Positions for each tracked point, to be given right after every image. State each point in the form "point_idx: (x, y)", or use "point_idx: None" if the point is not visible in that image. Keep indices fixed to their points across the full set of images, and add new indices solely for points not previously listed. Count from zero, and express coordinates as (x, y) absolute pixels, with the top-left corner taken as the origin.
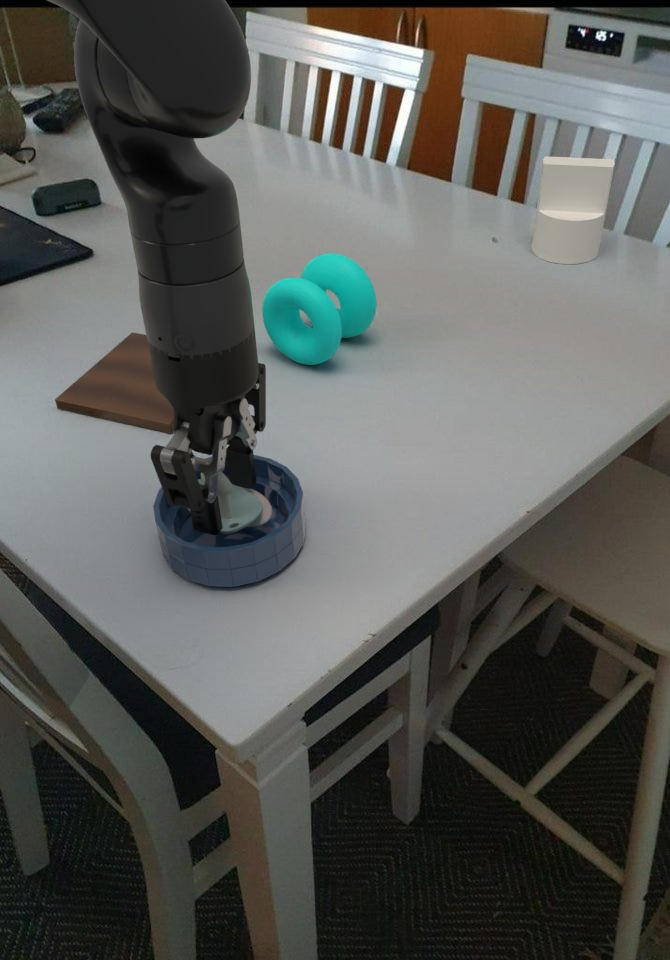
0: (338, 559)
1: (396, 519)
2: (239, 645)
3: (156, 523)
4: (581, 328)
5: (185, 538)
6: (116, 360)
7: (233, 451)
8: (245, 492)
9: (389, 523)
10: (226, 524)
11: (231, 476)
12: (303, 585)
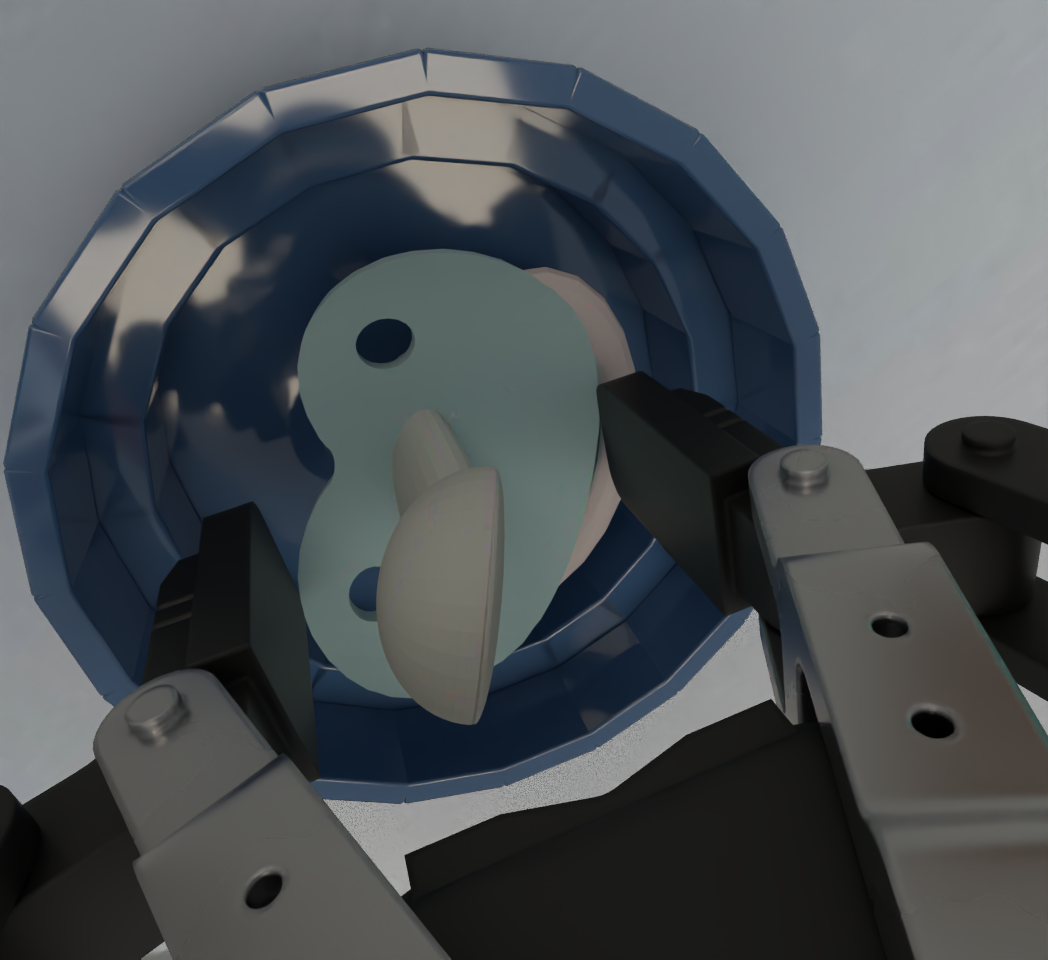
0: None
1: (761, 700)
2: (52, 775)
3: (26, 343)
4: None
5: (262, 259)
6: None
7: (717, 524)
8: (583, 469)
9: (739, 699)
10: (364, 545)
11: (618, 407)
12: None
